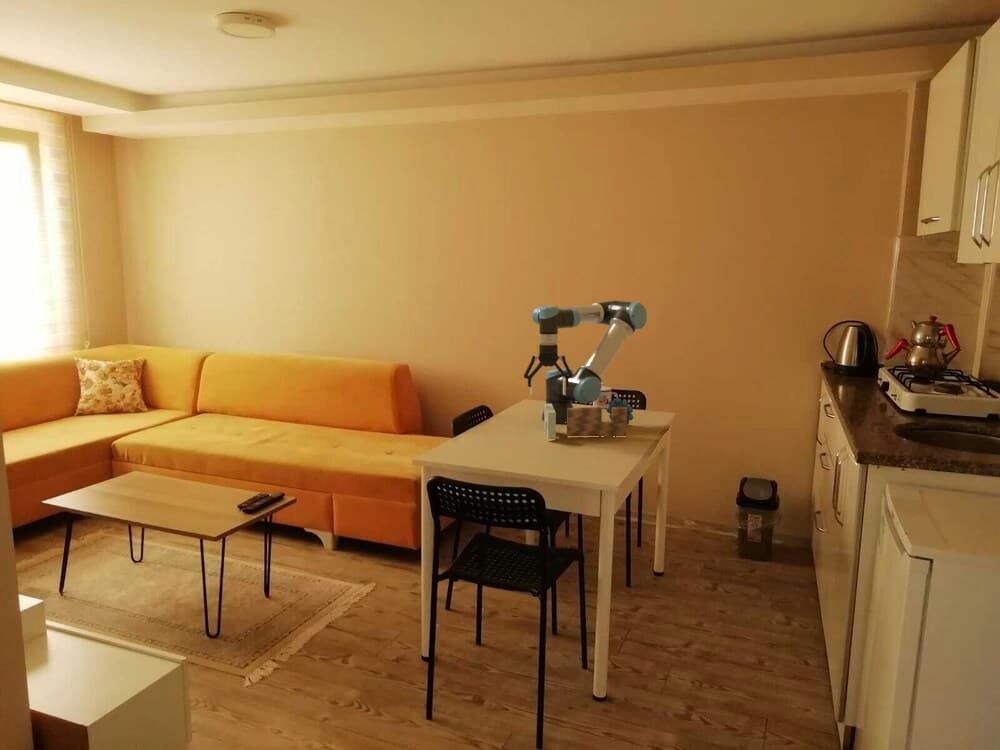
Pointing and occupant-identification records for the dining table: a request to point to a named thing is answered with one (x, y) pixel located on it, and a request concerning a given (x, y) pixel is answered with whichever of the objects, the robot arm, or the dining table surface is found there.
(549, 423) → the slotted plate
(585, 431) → the slotted board
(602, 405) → the teacup with lid
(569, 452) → the dining table surface
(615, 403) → the grapes
